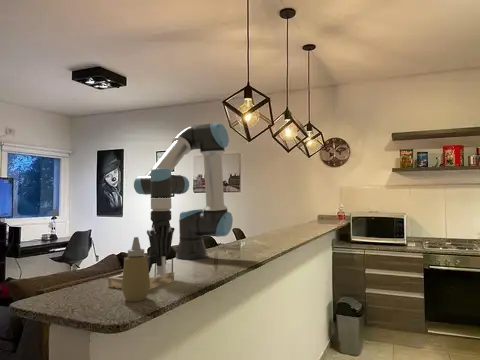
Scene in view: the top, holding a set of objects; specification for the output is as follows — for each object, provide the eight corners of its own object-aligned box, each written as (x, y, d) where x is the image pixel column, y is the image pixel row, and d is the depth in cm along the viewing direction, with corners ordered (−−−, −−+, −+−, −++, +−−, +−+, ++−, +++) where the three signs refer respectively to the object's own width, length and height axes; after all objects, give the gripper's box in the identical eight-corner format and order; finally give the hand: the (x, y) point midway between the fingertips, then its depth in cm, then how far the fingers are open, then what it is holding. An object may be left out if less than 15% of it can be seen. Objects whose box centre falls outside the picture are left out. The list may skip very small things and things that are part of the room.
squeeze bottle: (117, 299, 106) (117, 237, 107) (142, 294, 111) (143, 235, 112) (128, 305, 100) (128, 239, 101) (155, 299, 105) (155, 237, 106)
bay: (142, 277, 135) (142, 269, 135) (174, 281, 128) (174, 272, 128) (108, 286, 121) (108, 277, 121) (141, 291, 114) (141, 282, 114)
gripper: (164, 209, 142) (165, 270, 141) (140, 210, 130) (140, 277, 129) (180, 209, 138) (180, 271, 137) (156, 210, 127) (157, 279, 126)
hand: (161, 274), depth 133 cm, fingers closed
